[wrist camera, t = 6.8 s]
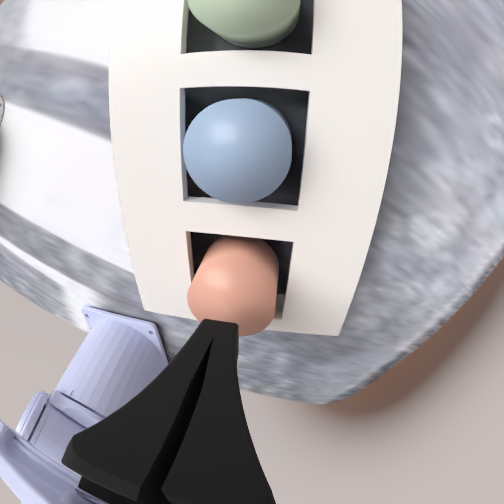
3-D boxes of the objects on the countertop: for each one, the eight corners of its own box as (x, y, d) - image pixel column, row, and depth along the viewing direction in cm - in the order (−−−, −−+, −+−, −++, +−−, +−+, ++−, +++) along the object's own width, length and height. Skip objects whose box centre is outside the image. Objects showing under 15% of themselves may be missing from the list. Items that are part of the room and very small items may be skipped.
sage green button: (297, 50, 9) (300, 36, 7) (208, 49, 10) (184, 37, 7) (300, -19, 7) (301, -48, 5) (213, -19, 8) (191, -44, 5)
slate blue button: (287, 182, 13) (286, 208, 10) (207, 176, 13) (185, 200, 11) (294, 101, 11) (296, 102, 8) (207, 97, 11) (182, 99, 8)
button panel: (334, 306, 17) (338, 336, 15) (159, 284, 18) (144, 310, 16) (381, -22, 6) (397, -40, 4) (144, -23, 7) (120, -36, 5)
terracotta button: (275, 297, 16) (270, 340, 13) (207, 289, 16) (191, 329, 13) (282, 237, 13) (279, 277, 11) (203, 229, 14) (182, 265, 11)
